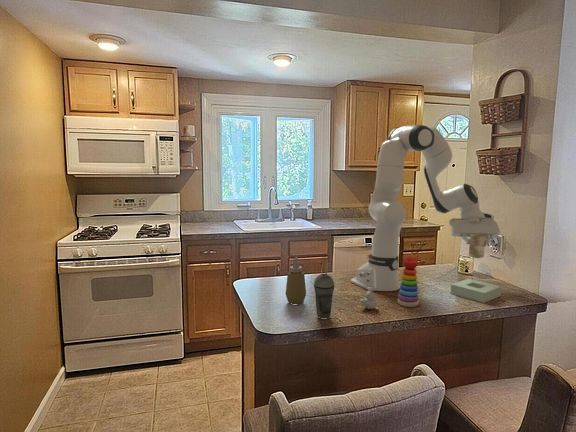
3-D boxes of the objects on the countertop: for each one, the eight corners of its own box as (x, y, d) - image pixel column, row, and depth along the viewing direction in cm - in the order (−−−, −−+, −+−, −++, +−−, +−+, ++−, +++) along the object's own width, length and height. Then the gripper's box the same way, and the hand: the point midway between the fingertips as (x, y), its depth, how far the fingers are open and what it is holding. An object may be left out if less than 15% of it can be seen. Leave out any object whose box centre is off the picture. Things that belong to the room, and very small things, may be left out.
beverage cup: (314, 312, 143) (314, 258, 140) (334, 313, 142) (335, 259, 139) (312, 320, 135) (313, 264, 133) (333, 321, 134) (334, 264, 132)
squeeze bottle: (291, 308, 147) (291, 261, 145) (281, 301, 154) (281, 256, 152) (310, 304, 151) (310, 258, 148) (299, 298, 158) (300, 254, 156)
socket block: (450, 293, 164) (451, 284, 164) (467, 287, 173) (468, 278, 172) (483, 302, 153) (484, 293, 153) (500, 295, 162) (501, 286, 161)
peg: (468, 256, 175) (470, 234, 174) (473, 255, 178) (475, 233, 177) (478, 258, 172) (480, 235, 170) (483, 257, 174) (485, 234, 173)
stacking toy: (420, 308, 147) (422, 259, 145) (398, 307, 149) (400, 258, 146) (417, 301, 155) (419, 255, 152) (396, 300, 156) (398, 254, 154)
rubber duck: (379, 310, 145) (380, 289, 144) (363, 312, 143) (363, 291, 142) (373, 305, 150) (374, 285, 149) (357, 306, 149) (357, 286, 148)
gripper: (450, 214, 181) (454, 239, 172) (497, 215, 178) (504, 240, 170) (447, 222, 186) (451, 246, 177) (492, 223, 183) (499, 248, 175)
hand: (477, 243), depth 173 cm, fingers closed on peg, 6 cm apart
